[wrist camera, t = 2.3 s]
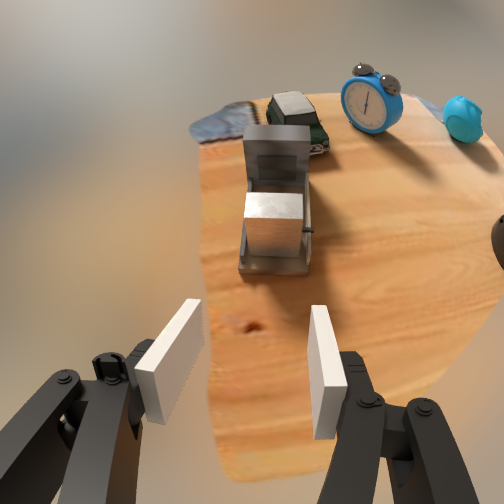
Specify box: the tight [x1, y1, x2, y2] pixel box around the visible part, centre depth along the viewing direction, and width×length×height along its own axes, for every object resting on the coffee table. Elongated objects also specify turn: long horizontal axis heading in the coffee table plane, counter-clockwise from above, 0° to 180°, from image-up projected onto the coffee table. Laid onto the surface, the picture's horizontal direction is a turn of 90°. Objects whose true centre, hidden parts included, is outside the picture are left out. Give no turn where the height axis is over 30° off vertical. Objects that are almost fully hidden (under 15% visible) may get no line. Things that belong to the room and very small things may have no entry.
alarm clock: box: [341, 63, 403, 137], centre depth 55 cm, size 13×6×15 cm, turn 39°
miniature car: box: [266, 91, 330, 155], centre depth 57 cm, size 9×18×8 cm, turn 13°
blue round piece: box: [443, 96, 483, 143], centre depth 55 cm, size 12×11×12 cm
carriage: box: [244, 193, 314, 257], centre depth 41 cm, size 9×4×9 cm, turn 85°
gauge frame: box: [238, 125, 311, 276], centre depth 44 cm, size 10×20×12 cm, turn 175°
